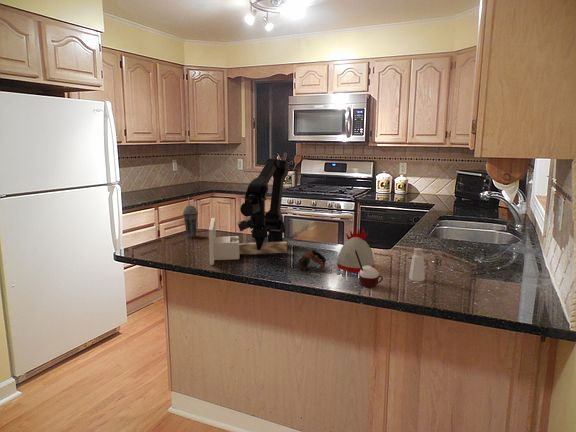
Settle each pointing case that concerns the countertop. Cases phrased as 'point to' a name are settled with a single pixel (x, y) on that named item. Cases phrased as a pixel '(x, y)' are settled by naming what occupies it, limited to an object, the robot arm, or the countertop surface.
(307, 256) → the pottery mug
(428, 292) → the countertop surface
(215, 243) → the white angular piece
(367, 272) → the cocoa
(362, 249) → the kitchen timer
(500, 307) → the countertop surface
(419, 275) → the pepper shaker
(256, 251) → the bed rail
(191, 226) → the beverage cup
